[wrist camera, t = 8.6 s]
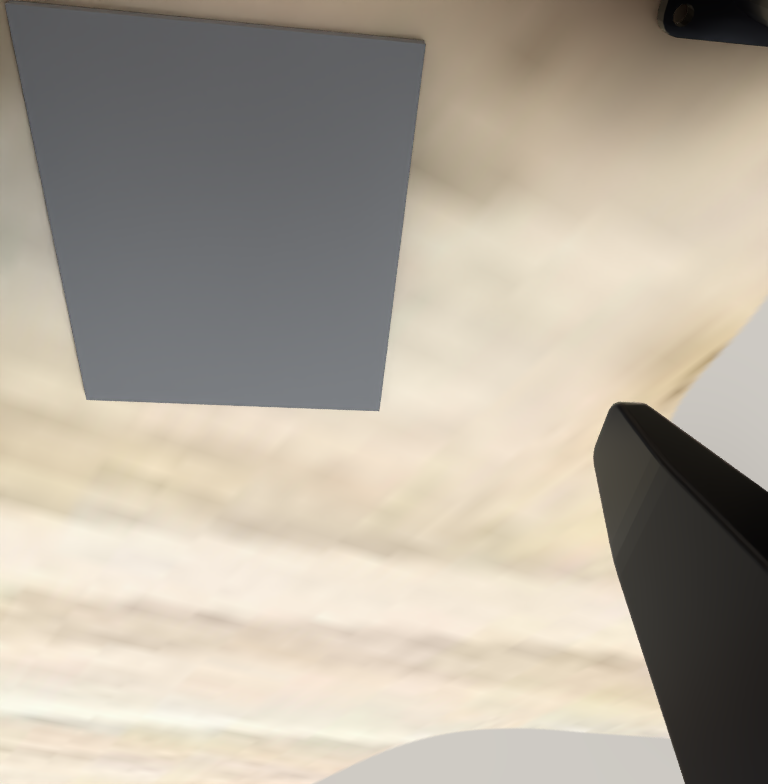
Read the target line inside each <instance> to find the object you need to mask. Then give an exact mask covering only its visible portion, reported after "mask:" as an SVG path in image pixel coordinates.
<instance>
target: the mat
mask: <svg viewBox="0 0 768 784" xmlns="http://www.w3.org/2000/svg"><path fill="white" fill-rule="evenodd" d="M5 7H6V12H7V17H8V22H9V27H10V32H11V36H12V41H13V46H14V51H15V56H16V61H17V66H18V70H19V75H20V80H21V85H22V90H23V95H24V99H25V104H26V109H27V114H28V119H29V124H30V128H31V133H32V138H33V143H34V148H35V153H36V158H37V162H38V167H39V172H40V177H41V182H42V187H43V191H44V196H45V201H46V206H47V211H48V216H49V220H50V225H51V230H52V235H53V240H54V245H55V250H56V254H57V259H58V264H59V269H60V274H61V279H62V283H63V288H64V293H65V298H66V303H67V308H68V312H69V317H70V322H71V327H72V332H73V337H74V342H75V346H76V351H77V356H78V361H79V366H80V371H81V375H82V380H83V385H84V390H85V395H86V400H103V401H129V402H155V403H181V404H207V405H233V406H259V407H285V408H311V409H337V410H363V411H379V409H380V401H381V393H382V385H383V378H384V370H385V362H386V354H387V346H388V338H389V330H390V322H391V314H392V306H393V298H394V290H395V283H396V275H397V267H398V259H399V251H400V243H401V235H402V227H403V219H404V211H405V203H406V195H407V188H408V180H409V172H410V164H411V156H412V148H413V140H414V132H415V124H416V116H417V108H418V100H419V93H420V85H421V77H422V69H423V61H424V53H425V45H426V44H425V42H424V40H414V39H404V38H393V37H383V36H373V35H363V34H352V33H342V32H332V31H322V30H312V29H301V28H291V27H281V26H271V25H260V24H250V23H240V22H230V21H219V20H209V19H199V18H189V17H178V16H168V15H158V14H148V13H137V12H127V11H117V10H107V9H96V8H86V7H76V6H66V5H55V4H45V3H35V2H25V1H14V0H10V1H8V2H6V3H5Z"/></svg>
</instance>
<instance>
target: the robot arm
mask: <svg viewBox="0 0 768 784" xmlns="http://www.w3.org/2000/svg"><path fill="white" fill-rule="evenodd" d="M682 4H686V5H687V7H688V8H687V14H686V16H685V17H684V19H683V20H681V21H680V22H679V23H674V21H673V14H674V12H675V11H676V9H677V8H678V7H679V6H681V5H682ZM657 20H658V24H659V27H660V28H661V29H662V30H663V31H664V32H665V33H667V34H669V35H671V36H674V37H677V38H686V39H696V40H706V41H716V42H726V43H735V44H745V45H755V46H765V47H768V0H661V3H660V6H659V9H658V16H657ZM593 459H594V467H595V472H596V477H597V483H598V488H599V493H600V498H601V503H602V508H603V513H604V518H605V523H606V528H607V533H608V538H609V543H610V548H611V552H612V556H613V561H614V564H615V568H616V571H617V575H618V578H619V581H620V584H621V587H622V590H623V593H624V597H625V600H626V603H627V606H628V609H629V612H630V615H631V618H632V621H633V624H634V627H635V631H636V634H637V637H638V640H639V643H640V646H641V649H642V652H643V655H644V658H645V661H646V665H647V668H648V671H649V674H650V677H651V680H652V683H653V686H654V689H655V692H656V695H657V699H658V702H659V705H660V708H661V711H662V714H663V717H664V720H665V723H666V726H667V729H668V733H669V736H670V739H671V742H672V745H673V748H674V751H675V754H676V757H677V760H678V763H679V767H680V770H681V773H682V776H683V779H684V782H685V784H768V492H767V491H766V490H764V489H763V488H762V487H760V486H759V485H758V484H756V483H755V482H753V481H752V480H751V479H749V478H748V477H746V476H745V475H744V474H742V473H741V472H740V471H738V470H737V469H735V468H734V467H732V466H731V465H730V464H729V463H727V462H726V461H724V460H723V459H722V458H720V457H719V456H717V455H716V454H715V453H713V452H712V451H711V450H709V449H708V448H706V447H705V446H704V445H702V444H701V443H700V442H698V441H697V440H695V439H694V438H693V437H691V436H690V435H688V434H687V433H686V432H684V431H683V430H681V429H680V428H679V427H677V426H676V425H675V424H673V423H672V422H671V421H669V420H668V419H666V418H665V417H664V416H662V415H661V414H660V413H658V412H657V411H655V410H654V409H653V408H651V407H650V406H648V405H647V404H644V403H635V402H617V403H615V404H613V405H612V406H611V408H610V410H609V411H608V414H607V417H606V419H605V422H604V424H603V427H602V429H601V432H600V435H599V437H598V440H597V442H596V445H595V448H594V456H593Z"/></svg>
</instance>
